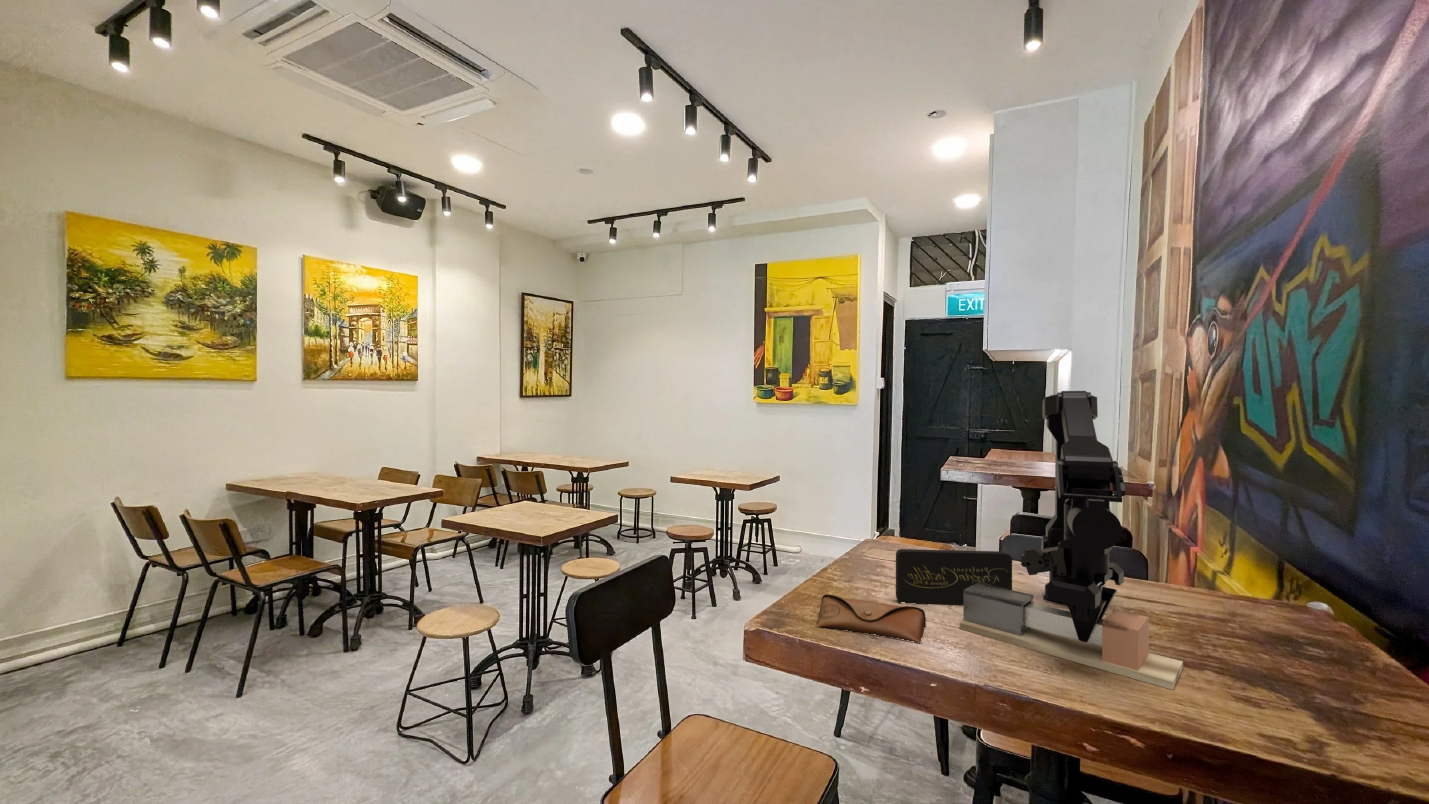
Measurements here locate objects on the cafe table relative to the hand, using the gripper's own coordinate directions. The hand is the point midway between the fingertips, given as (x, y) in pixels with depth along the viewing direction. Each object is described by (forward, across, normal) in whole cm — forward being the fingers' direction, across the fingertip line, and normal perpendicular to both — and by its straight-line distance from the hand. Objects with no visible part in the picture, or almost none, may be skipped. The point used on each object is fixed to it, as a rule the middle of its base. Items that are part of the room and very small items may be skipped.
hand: (1086, 638), depth 85 cm
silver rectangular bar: (0, 0, -3) cm, 3 cm away
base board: (+2, 0, -3) cm, 4 cm away
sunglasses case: (+3, +15, -28) cm, 32 cm away
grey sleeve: (+1, 0, -13) cm, 13 cm away
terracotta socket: (+1, 0, +5) cm, 5 cm away
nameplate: (+3, -7, -23) cm, 25 cm away
